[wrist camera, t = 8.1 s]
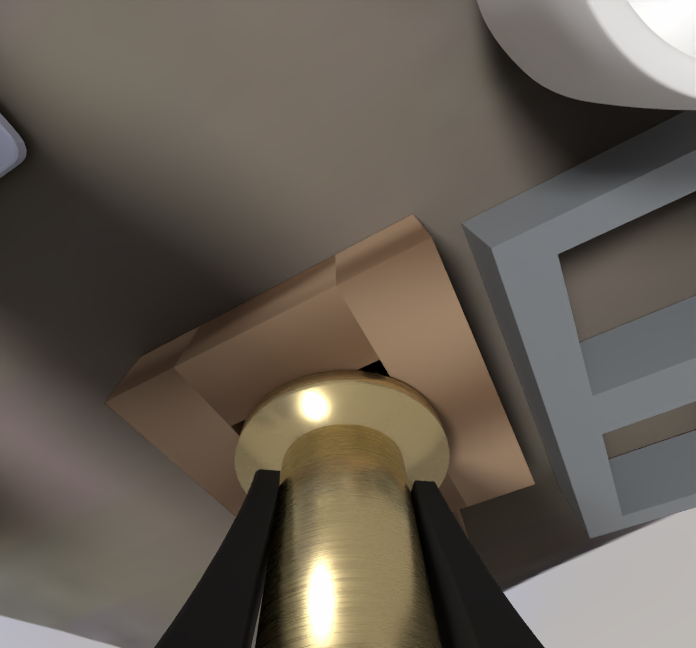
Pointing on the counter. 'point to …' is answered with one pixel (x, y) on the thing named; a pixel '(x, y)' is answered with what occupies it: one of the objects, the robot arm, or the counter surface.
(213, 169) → the counter surface
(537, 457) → the counter surface
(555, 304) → the rack
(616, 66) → the teacup
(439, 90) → the counter surface
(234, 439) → the socket block
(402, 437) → the brass peg
